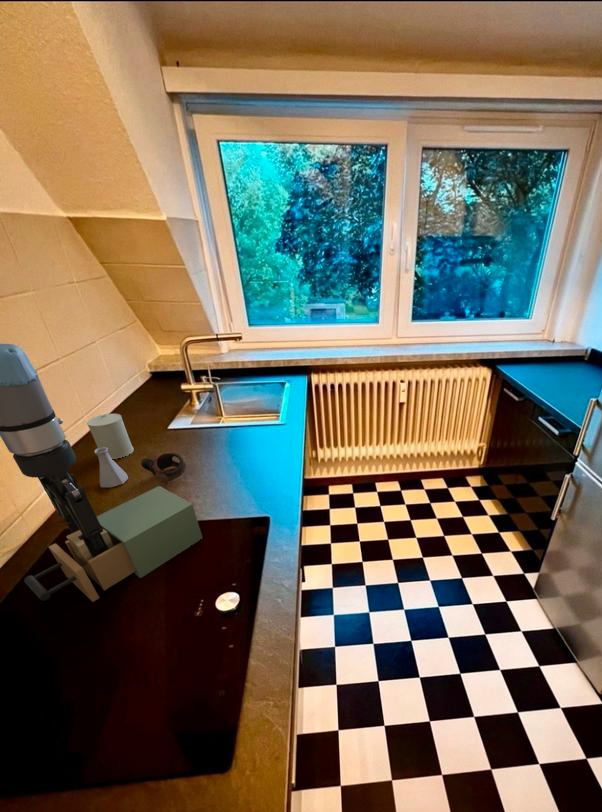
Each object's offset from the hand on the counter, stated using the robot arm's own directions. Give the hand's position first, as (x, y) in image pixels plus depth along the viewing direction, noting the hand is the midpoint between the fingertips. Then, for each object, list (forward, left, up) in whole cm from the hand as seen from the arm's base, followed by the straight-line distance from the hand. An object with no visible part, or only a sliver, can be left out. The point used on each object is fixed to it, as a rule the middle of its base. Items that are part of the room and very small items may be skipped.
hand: (96, 552), depth 75 cm
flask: (+19, +35, -7) cm, 40 cm away
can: (+28, +51, -6) cm, 58 cm away
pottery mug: (+29, +25, -6) cm, 39 cm away
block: (0, 0, 0) cm, 0 cm away
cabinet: (+11, 0, -6) cm, 12 cm away
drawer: (-1, 0, -5) cm, 6 cm away
